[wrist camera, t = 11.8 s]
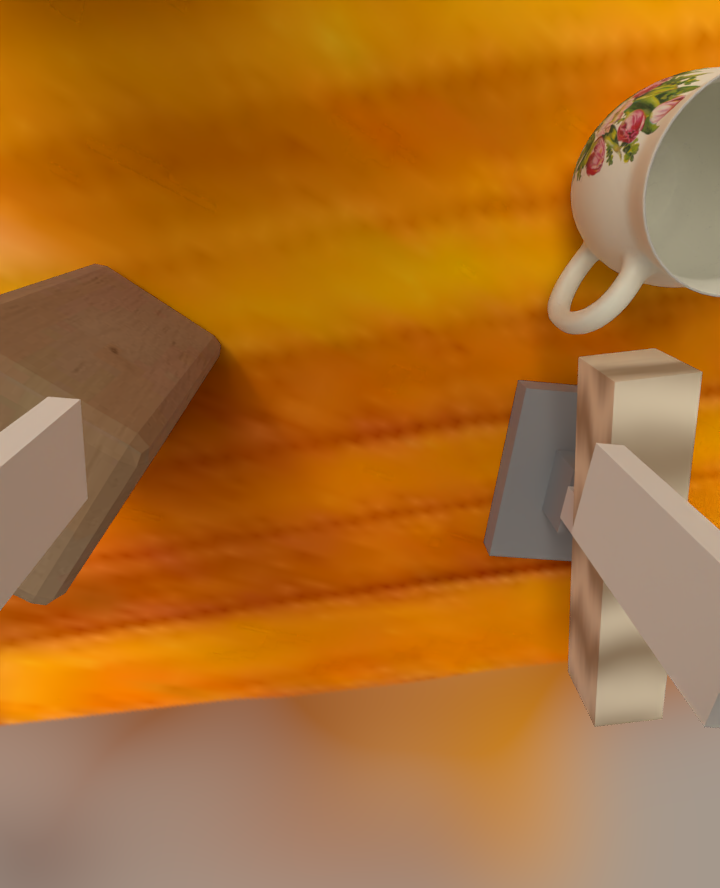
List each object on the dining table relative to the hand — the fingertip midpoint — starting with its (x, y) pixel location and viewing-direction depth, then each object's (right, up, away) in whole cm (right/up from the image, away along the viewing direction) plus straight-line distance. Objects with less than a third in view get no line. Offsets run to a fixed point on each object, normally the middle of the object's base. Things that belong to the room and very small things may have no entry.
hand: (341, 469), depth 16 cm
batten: (+17, -5, +25) cm, 30 cm away
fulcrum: (+16, -1, +33) cm, 36 cm away
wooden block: (-16, +7, +28) cm, 33 cm away
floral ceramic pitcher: (+18, +17, +25) cm, 35 cm away
